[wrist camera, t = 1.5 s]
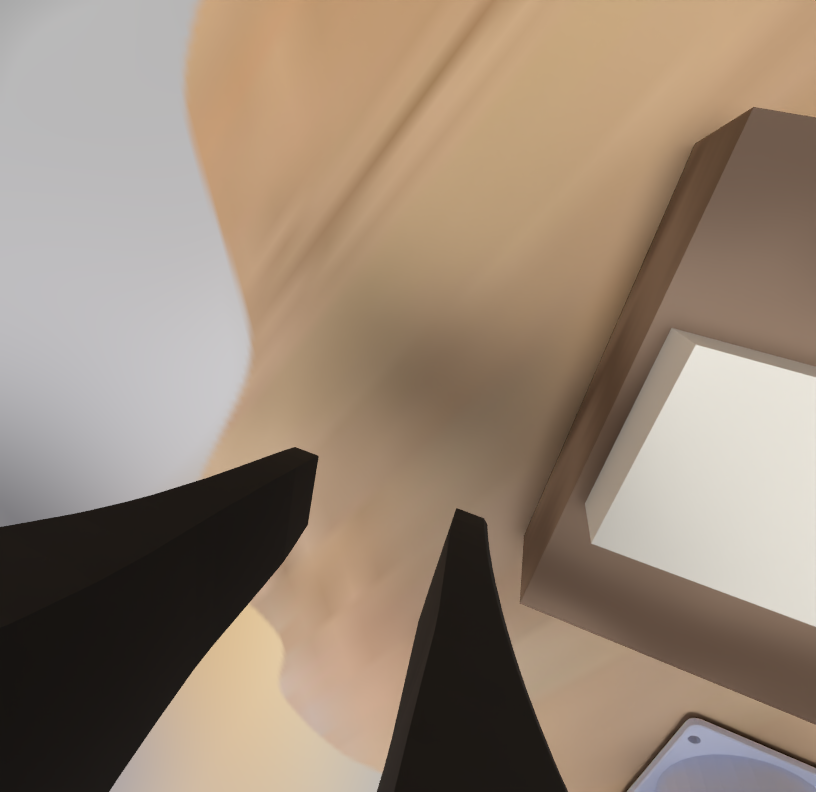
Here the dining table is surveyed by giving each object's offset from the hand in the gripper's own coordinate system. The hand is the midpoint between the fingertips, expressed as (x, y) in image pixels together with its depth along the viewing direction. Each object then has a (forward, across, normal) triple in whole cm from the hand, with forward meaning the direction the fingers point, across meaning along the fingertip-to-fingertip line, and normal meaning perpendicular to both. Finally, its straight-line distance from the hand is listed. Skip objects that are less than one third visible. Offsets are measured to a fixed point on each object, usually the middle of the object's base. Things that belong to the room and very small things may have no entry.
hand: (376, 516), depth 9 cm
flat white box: (+5, -10, -2) cm, 12 cm away
